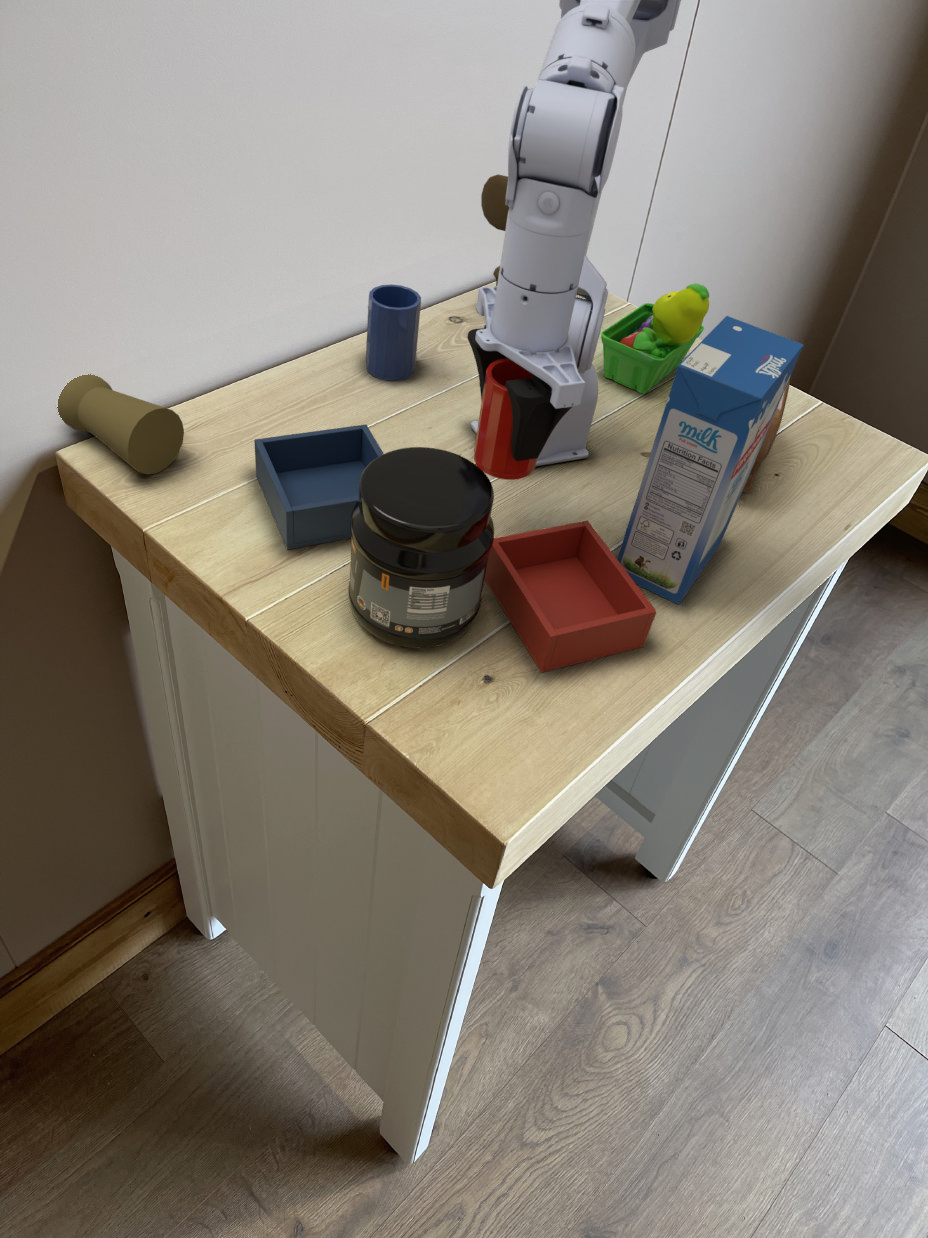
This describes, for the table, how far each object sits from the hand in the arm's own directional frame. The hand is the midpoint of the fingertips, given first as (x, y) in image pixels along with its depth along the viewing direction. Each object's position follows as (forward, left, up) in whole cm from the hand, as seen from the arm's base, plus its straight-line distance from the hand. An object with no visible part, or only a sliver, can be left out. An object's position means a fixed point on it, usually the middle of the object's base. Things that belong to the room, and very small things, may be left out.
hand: (509, 436), depth 75 cm
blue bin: (+13, -7, -9) cm, 17 cm away
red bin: (-1, +11, -9) cm, 15 cm away
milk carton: (-13, +8, -10) cm, 18 cm away
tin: (-29, -2, -10) cm, 30 cm away
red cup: (0, 0, -2) cm, 2 cm away
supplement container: (+10, +7, -10) cm, 16 cm away
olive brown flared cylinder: (+26, -15, -6) cm, 30 cm away
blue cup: (0, -27, -9) cm, 28 cm away
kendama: (-18, -36, -10) cm, 41 cm away
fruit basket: (-28, -20, -10) cm, 36 cm away
